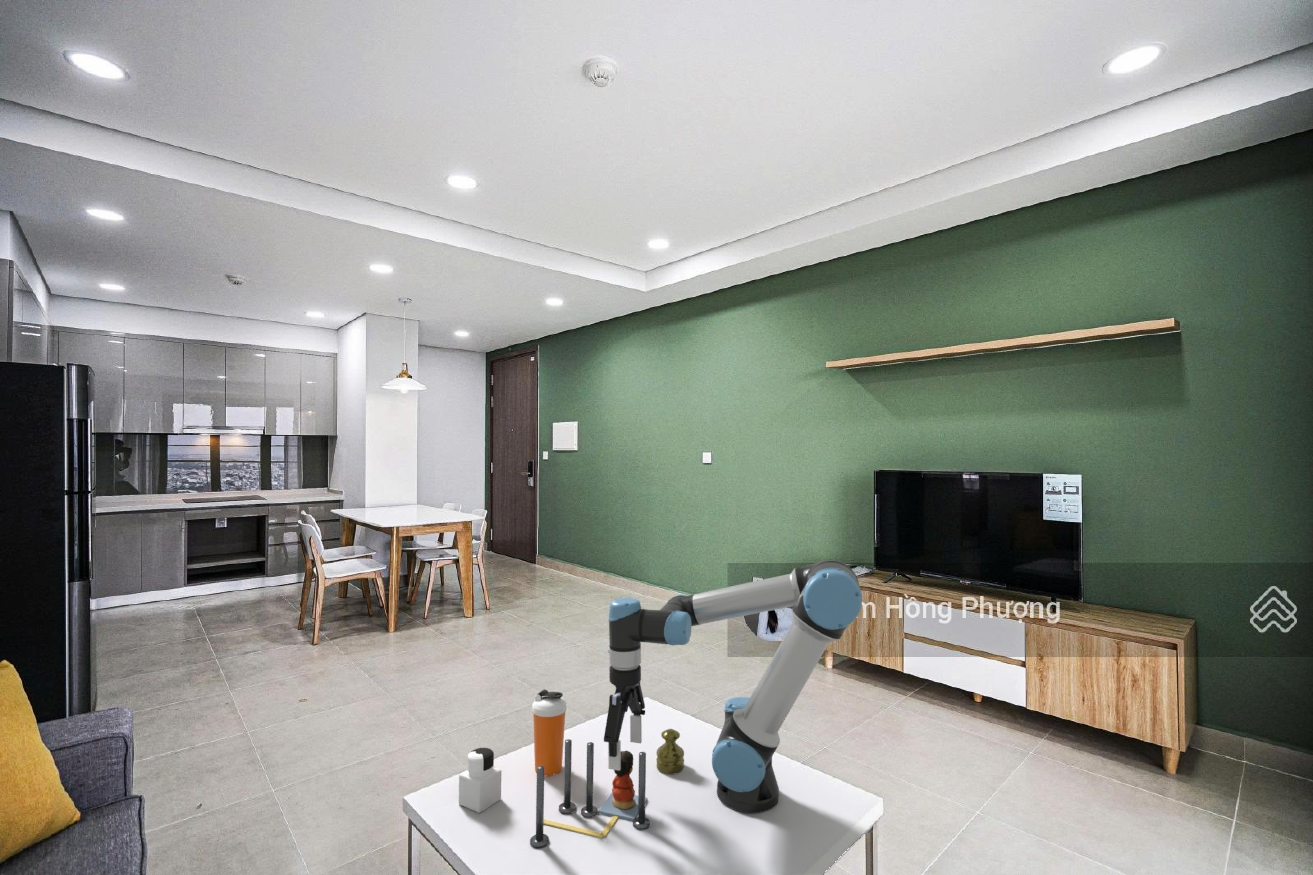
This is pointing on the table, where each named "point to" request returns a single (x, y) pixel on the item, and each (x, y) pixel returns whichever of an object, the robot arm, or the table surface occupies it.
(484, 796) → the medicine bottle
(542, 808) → the gate
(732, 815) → the table surface
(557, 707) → the shaker bottle
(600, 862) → the table surface
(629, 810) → the pad
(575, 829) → the guide line
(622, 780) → the figurine
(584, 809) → the gate
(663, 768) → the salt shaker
